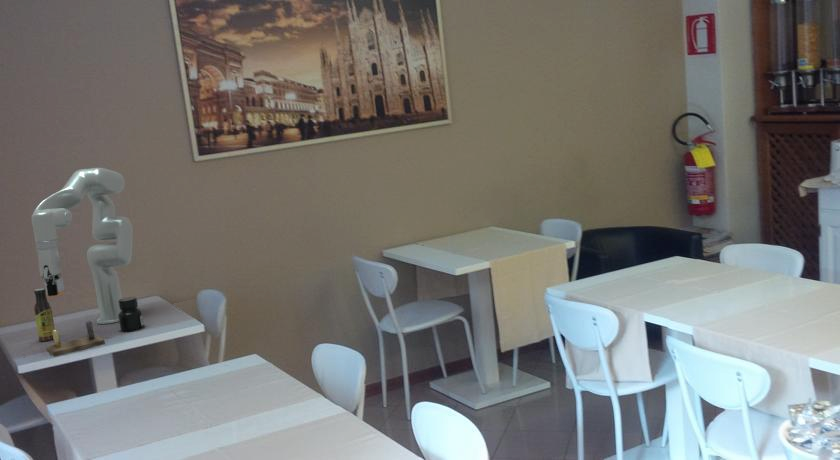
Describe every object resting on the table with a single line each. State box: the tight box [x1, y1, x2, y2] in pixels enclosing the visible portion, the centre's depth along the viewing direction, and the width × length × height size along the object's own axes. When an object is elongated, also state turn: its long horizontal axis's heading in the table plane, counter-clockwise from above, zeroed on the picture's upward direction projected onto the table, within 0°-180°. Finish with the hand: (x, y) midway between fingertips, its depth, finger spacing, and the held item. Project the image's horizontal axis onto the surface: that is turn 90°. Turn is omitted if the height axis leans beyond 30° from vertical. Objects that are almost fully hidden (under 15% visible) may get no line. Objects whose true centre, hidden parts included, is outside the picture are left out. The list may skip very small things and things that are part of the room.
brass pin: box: [52, 328, 62, 348], centre depth 330 cm, size 2×2×8 cm
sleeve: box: [43, 276, 66, 298], centre depth 333 cm, size 5×5×6 cm
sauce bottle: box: [33, 287, 56, 342], centre depth 349 cm, size 6×6×20 cm
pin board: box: [45, 320, 106, 357], centre depth 333 cm, size 18×12×8 cm, turn 123°
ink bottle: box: [118, 296, 145, 333], centre depth 351 cm, size 10×9×12 cm
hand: (55, 293), depth 333 cm, fingers closed on sleeve, 5 cm apart
